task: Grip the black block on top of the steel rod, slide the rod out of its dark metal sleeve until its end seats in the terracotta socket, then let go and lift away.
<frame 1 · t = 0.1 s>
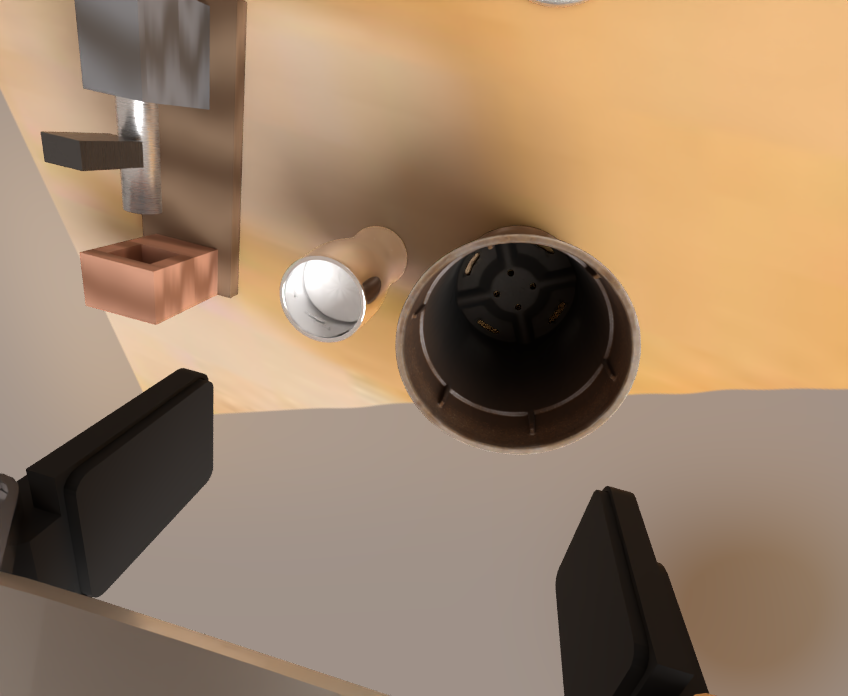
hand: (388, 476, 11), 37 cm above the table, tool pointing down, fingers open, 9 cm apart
tube rig: (195, 149, 46), on the table
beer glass: (378, 255, 47), on the table
plant pot: (514, 289, 46), on the table
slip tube: (106, 86, 35), point 11 cm above the table, slide at 0.0 cm
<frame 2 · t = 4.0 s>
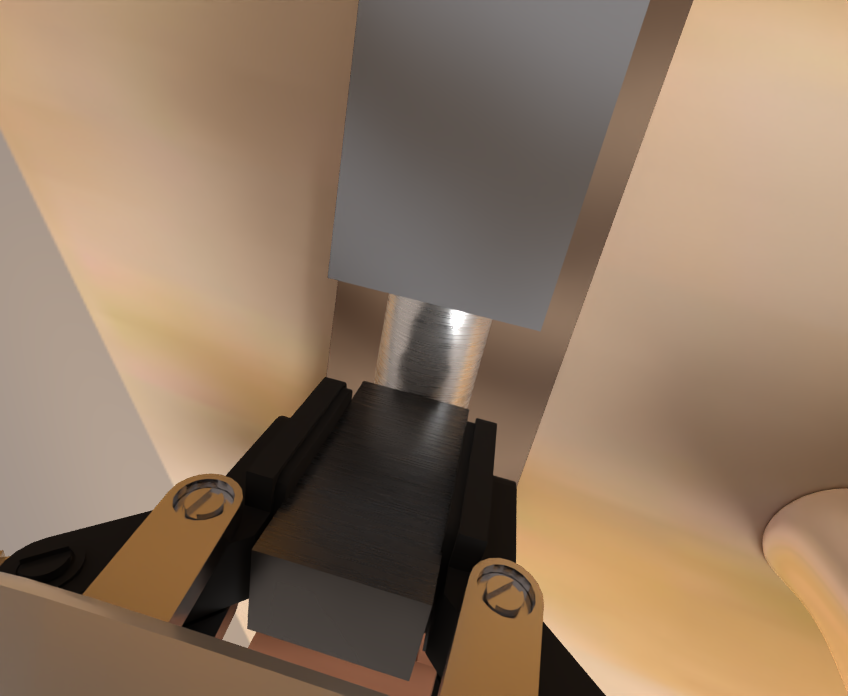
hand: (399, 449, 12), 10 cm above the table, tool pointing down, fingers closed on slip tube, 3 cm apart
tube rig: (451, 318, 21), on the table
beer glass: (831, 535, 22), on the table
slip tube: (432, 289, 10), point 11 cm above the table, slide at 0.0 cm, touching gripper
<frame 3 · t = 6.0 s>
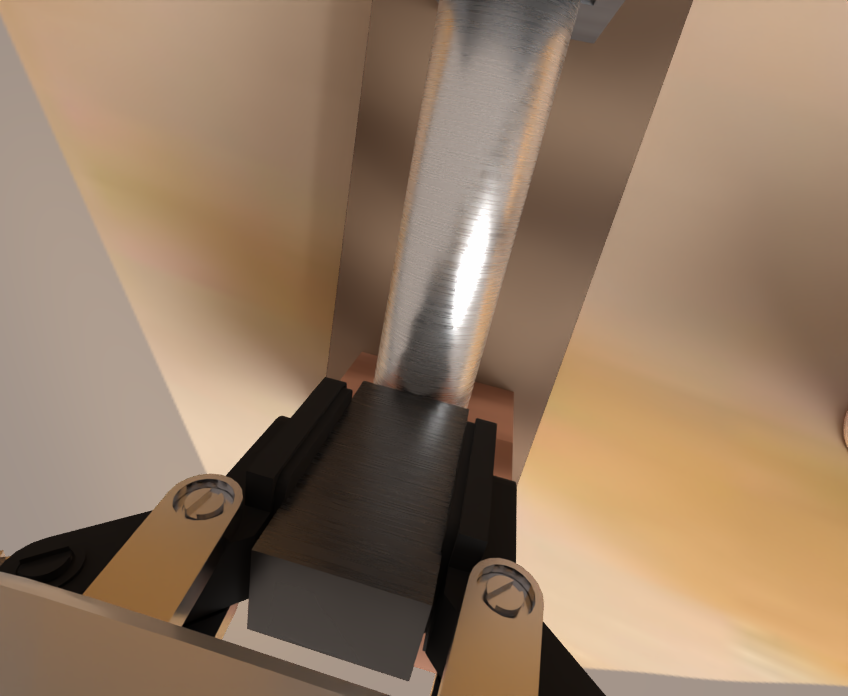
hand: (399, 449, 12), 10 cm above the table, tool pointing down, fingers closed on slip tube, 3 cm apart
tube rig: (489, 156, 18), on the table
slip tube: (432, 289, 10), point 10 cm above the table, slide at 7.0 cm, touching gripper
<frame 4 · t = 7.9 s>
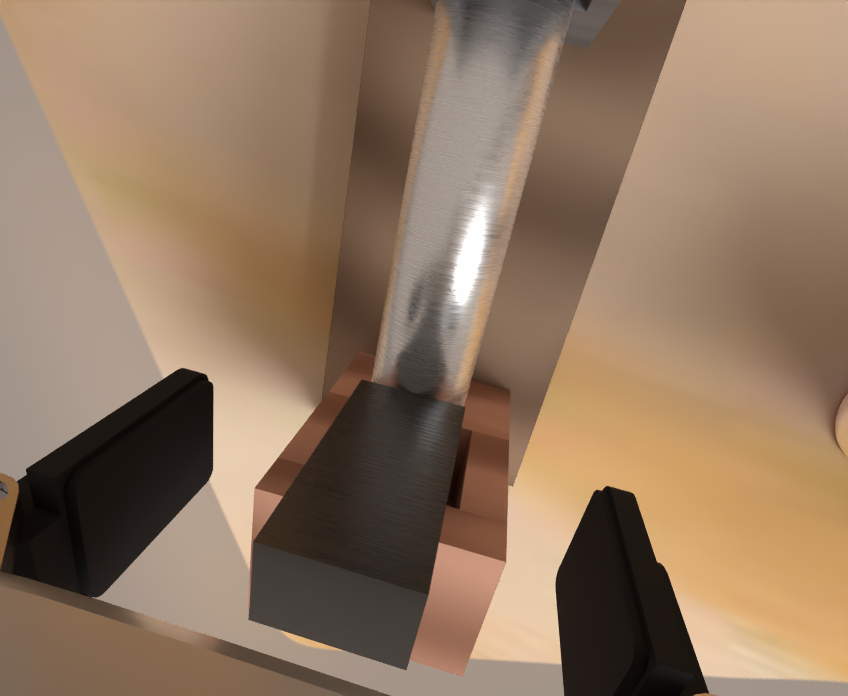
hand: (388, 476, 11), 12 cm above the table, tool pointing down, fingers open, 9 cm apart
tube rig: (486, 158, 19), on the table
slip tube: (429, 289, 10), point 10 cm above the table, slide at 7.0 cm
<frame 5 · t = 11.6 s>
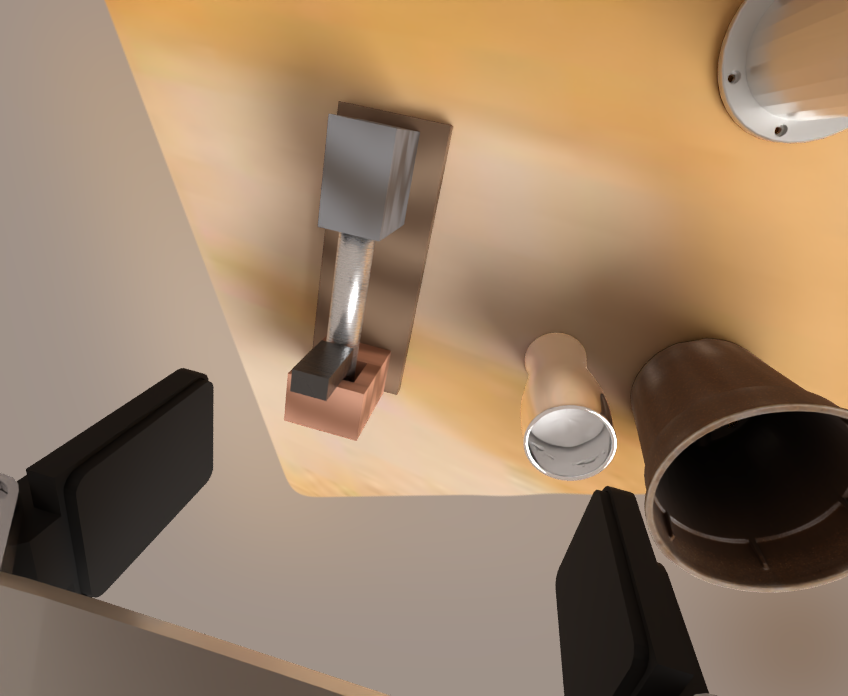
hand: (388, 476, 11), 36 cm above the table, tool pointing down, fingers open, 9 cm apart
tube rig: (376, 256, 47), on the table
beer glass: (554, 359, 48), on the table
plant pot: (693, 394, 47), on the table
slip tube: (336, 313, 38), point 11 cm above the table, slide at 7.0 cm
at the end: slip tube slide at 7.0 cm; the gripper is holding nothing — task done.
